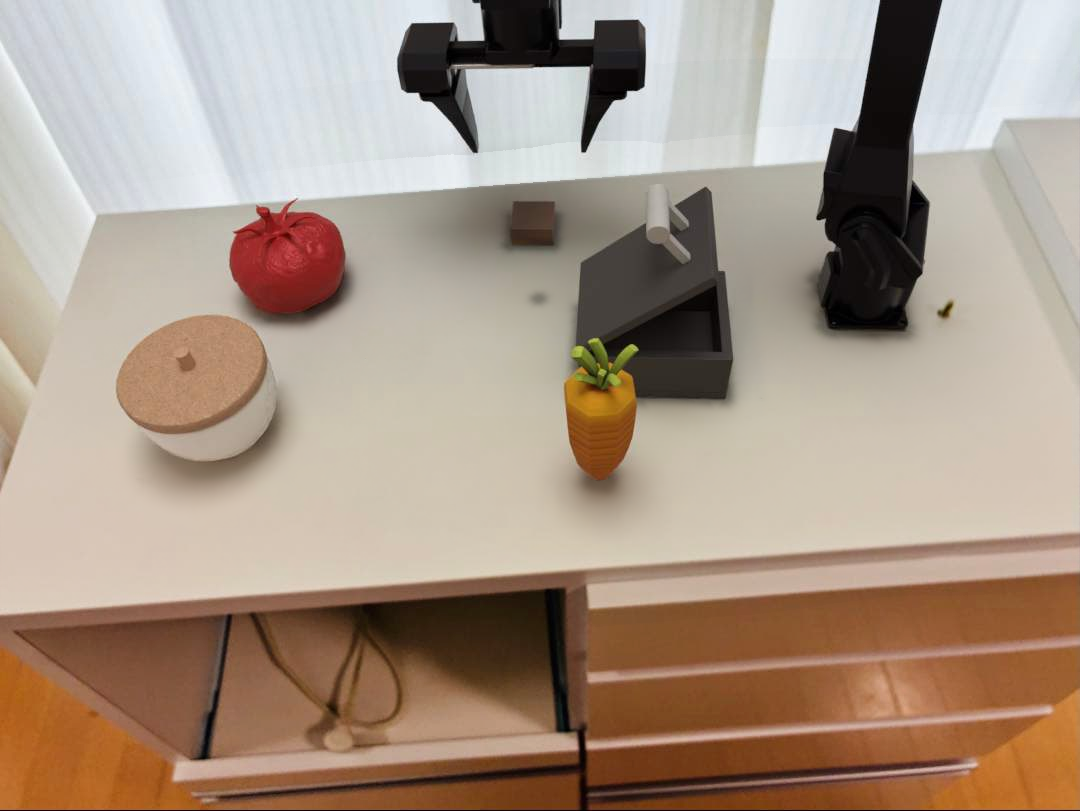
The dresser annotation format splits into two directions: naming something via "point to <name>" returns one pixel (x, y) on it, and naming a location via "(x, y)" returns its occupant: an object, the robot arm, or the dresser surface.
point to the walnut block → (533, 223)
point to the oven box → (681, 349)
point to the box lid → (649, 267)
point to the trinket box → (199, 387)
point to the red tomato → (287, 260)
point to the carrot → (600, 409)
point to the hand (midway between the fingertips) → (529, 149)
